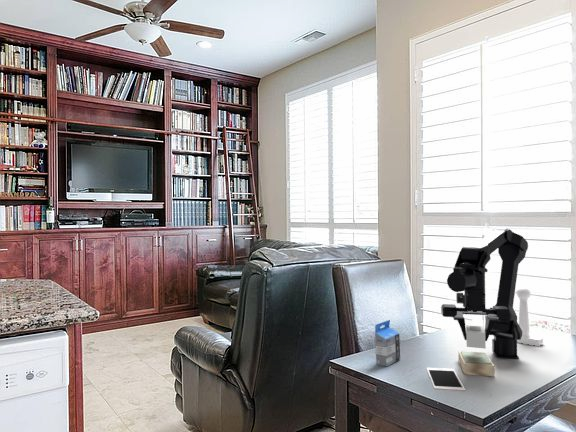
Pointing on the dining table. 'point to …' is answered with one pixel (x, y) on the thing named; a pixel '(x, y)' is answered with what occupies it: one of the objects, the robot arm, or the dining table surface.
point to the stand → (476, 363)
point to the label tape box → (386, 344)
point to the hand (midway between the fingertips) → (475, 340)
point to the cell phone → (445, 379)
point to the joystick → (526, 319)
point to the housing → (475, 336)
